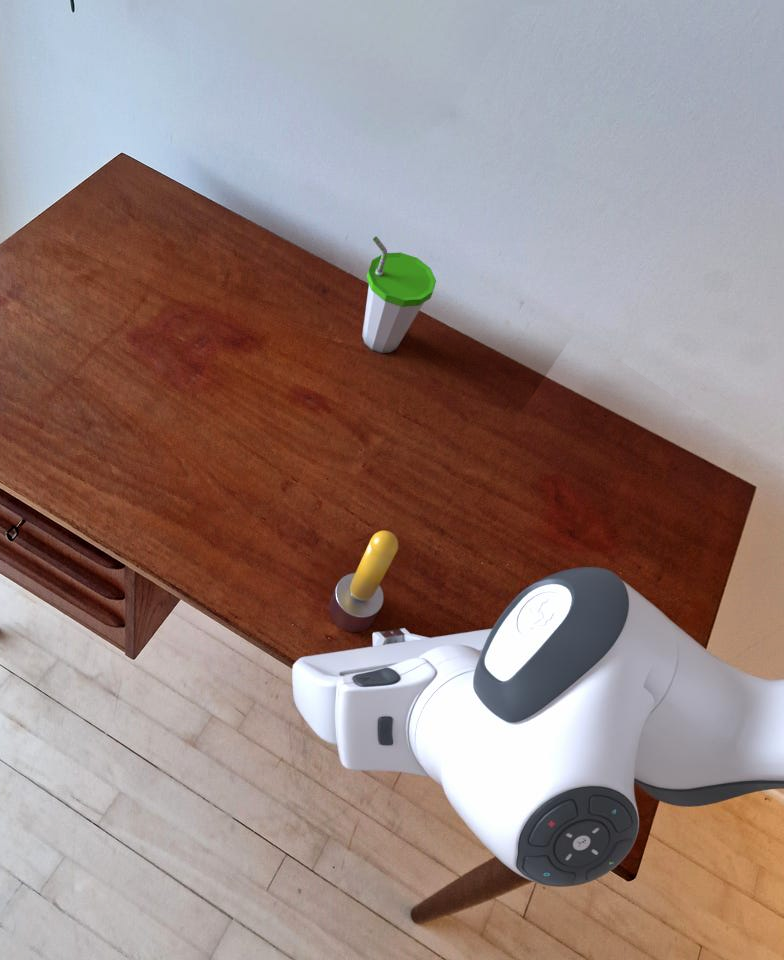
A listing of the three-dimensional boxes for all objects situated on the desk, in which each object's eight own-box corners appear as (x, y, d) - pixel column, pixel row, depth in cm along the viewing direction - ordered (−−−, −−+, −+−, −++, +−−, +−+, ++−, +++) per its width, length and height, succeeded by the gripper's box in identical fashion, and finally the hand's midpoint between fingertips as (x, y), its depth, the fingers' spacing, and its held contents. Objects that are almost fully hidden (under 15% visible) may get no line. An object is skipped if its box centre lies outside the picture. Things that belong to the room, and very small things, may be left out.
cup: (422, 337, 104) (461, 242, 92) (391, 373, 100) (427, 279, 88) (369, 306, 106) (400, 209, 93) (337, 340, 101) (364, 243, 89)
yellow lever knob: (384, 610, 82) (425, 538, 71) (355, 641, 80) (393, 572, 68) (348, 580, 83) (382, 504, 72) (319, 610, 81) (349, 537, 69)
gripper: (584, 648, 62) (496, 589, 76) (320, 691, 57) (274, 619, 70) (582, 726, 64) (495, 654, 77) (323, 774, 59) (278, 689, 72)
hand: (387, 638), depth 74 cm, fingers closed
